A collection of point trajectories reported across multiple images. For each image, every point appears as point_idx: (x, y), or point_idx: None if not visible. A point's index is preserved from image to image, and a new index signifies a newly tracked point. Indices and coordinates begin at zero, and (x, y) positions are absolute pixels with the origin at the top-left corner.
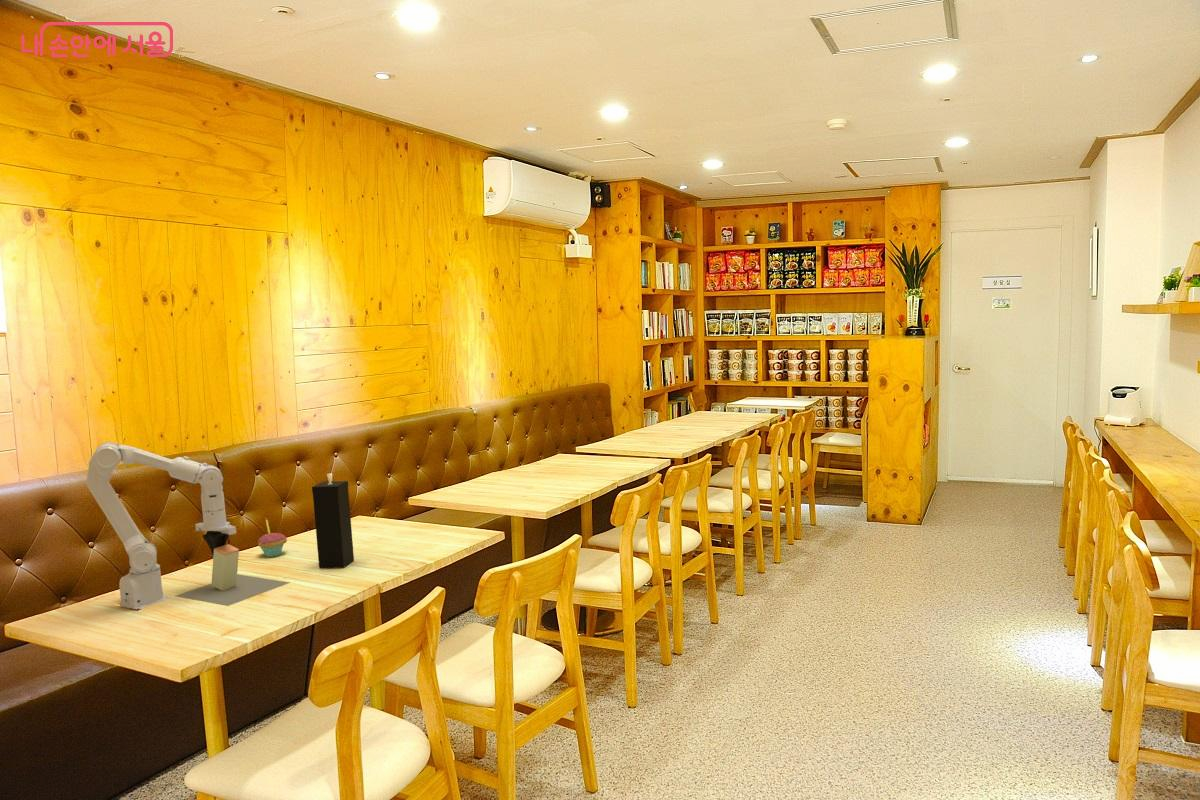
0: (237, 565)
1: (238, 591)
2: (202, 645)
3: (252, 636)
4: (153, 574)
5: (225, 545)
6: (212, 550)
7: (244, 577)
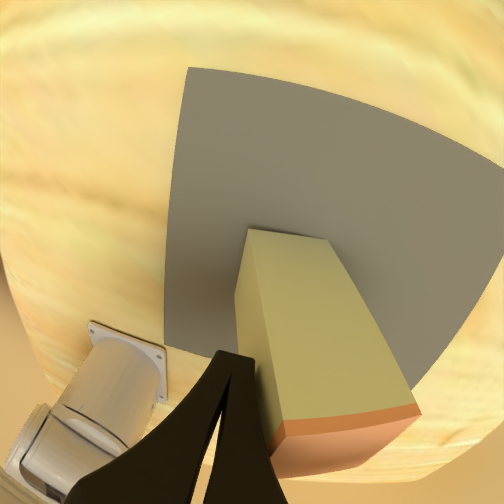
0: (370, 317)
1: (383, 302)
2: (422, 461)
3: (482, 434)
4: (131, 440)
5: (284, 451)
6: (209, 442)
7: (271, 106)
